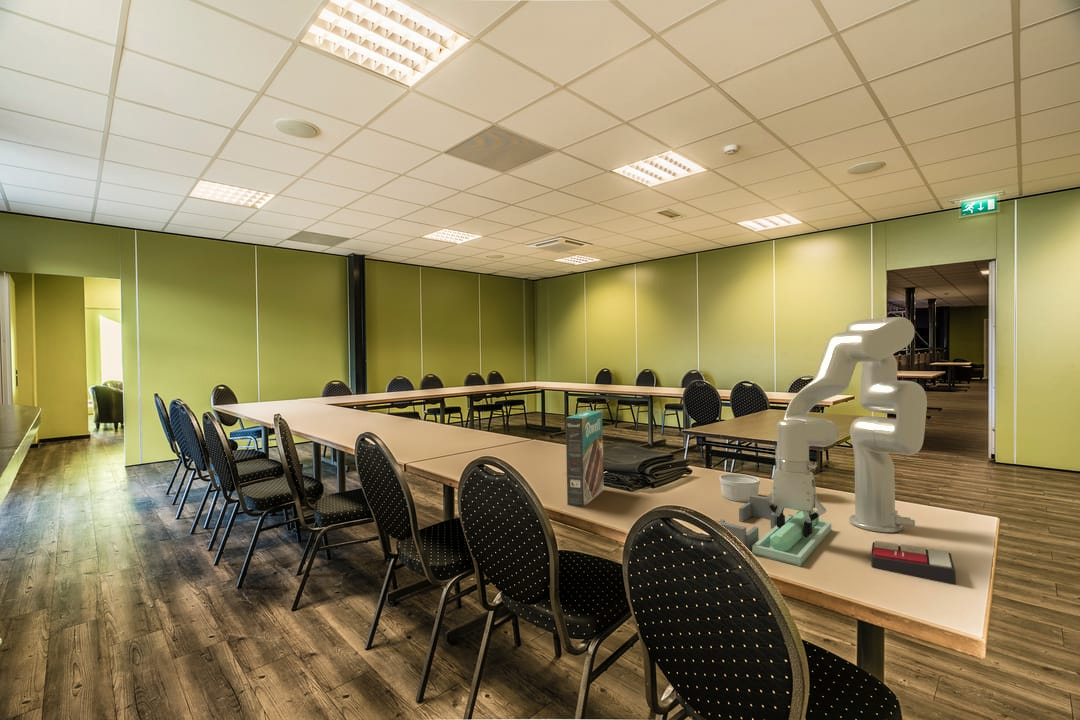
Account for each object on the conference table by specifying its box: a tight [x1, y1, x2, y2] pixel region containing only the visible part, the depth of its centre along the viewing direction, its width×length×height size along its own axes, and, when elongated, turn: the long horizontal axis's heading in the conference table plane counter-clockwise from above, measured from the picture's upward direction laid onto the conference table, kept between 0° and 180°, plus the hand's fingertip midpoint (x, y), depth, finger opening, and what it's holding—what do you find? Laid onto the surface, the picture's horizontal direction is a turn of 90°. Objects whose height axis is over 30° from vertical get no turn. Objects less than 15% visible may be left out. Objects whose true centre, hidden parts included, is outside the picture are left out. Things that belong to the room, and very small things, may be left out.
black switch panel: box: [870, 540, 957, 586], centre depth 111 cm, size 11×4×15 cm
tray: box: [751, 514, 832, 568], centre depth 128 cm, size 11×31×2 cm, turn 137°
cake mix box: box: [565, 410, 605, 508], centre depth 172 cm, size 22×6×30 cm, turn 155°
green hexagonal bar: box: [770, 509, 820, 552], centre depth 128 cm, size 6×6×25 cm
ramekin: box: [719, 473, 761, 503], centre depth 168 cm, size 13×13×7 cm
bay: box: [715, 495, 778, 551], centre depth 136 cm, size 10×32×6 cm, turn 137°
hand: (794, 532), depth 128 cm, fingers open, 5 cm apart
